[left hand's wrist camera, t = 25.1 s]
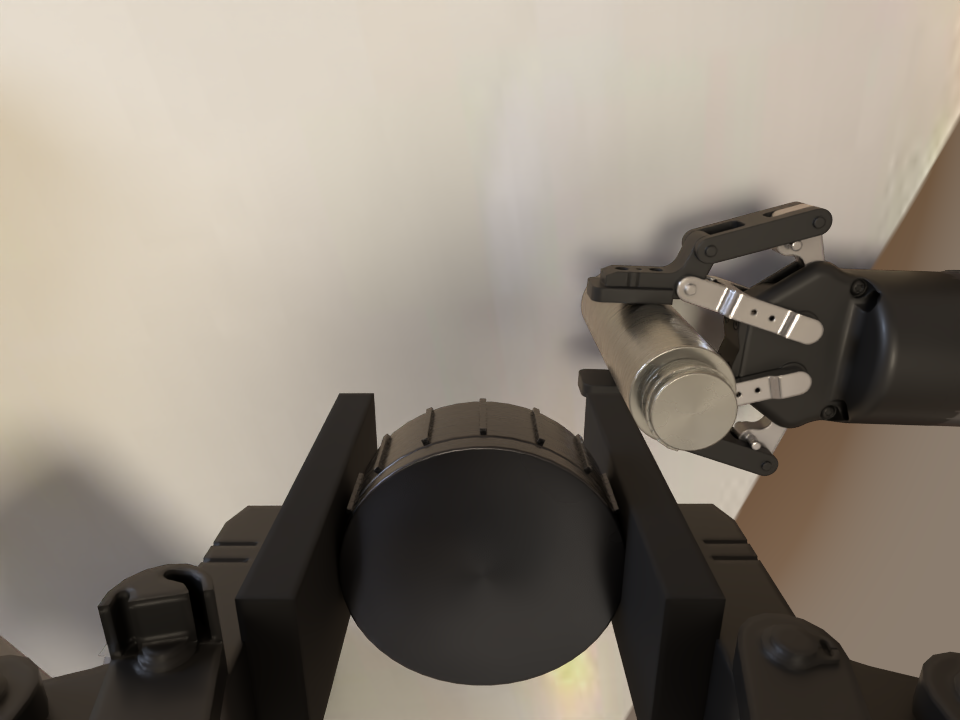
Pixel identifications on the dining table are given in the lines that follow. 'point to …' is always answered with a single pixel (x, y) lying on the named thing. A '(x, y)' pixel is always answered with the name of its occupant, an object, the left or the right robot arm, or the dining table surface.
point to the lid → (482, 545)
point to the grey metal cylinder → (664, 372)
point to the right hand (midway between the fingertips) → (586, 337)
